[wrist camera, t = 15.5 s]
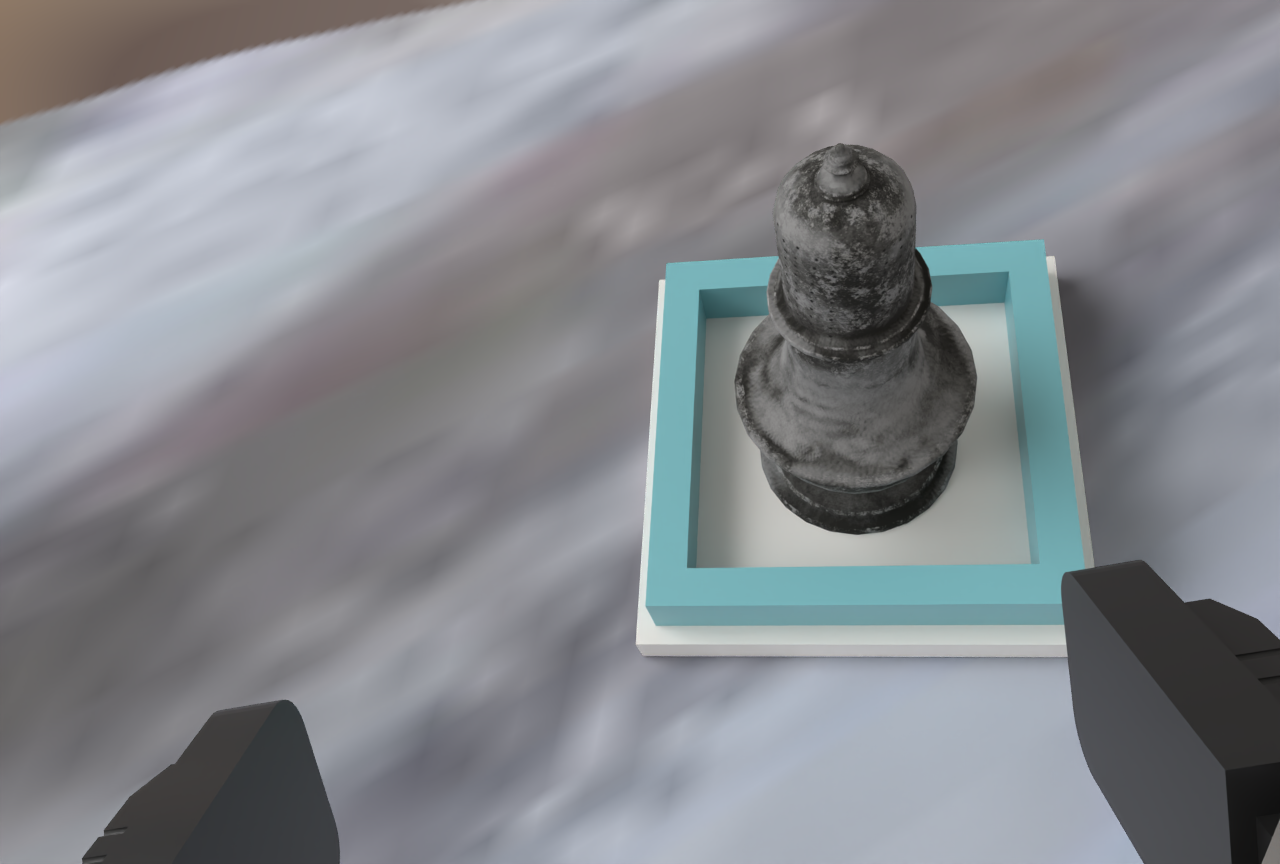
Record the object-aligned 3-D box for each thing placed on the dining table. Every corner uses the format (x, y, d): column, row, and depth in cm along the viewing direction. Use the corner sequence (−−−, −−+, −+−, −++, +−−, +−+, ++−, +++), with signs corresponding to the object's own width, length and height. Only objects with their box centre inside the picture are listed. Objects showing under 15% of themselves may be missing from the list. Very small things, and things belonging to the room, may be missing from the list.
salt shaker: (744, 544, 31) (669, 283, 21) (753, 355, 34) (692, 40, 23) (973, 546, 30) (1017, 271, 19) (964, 350, 32) (998, 16, 22)
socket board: (642, 656, 31) (624, 625, 29) (664, 298, 36) (650, 250, 34) (1098, 657, 29) (1115, 624, 27) (1050, 276, 34) (1060, 223, 32)
